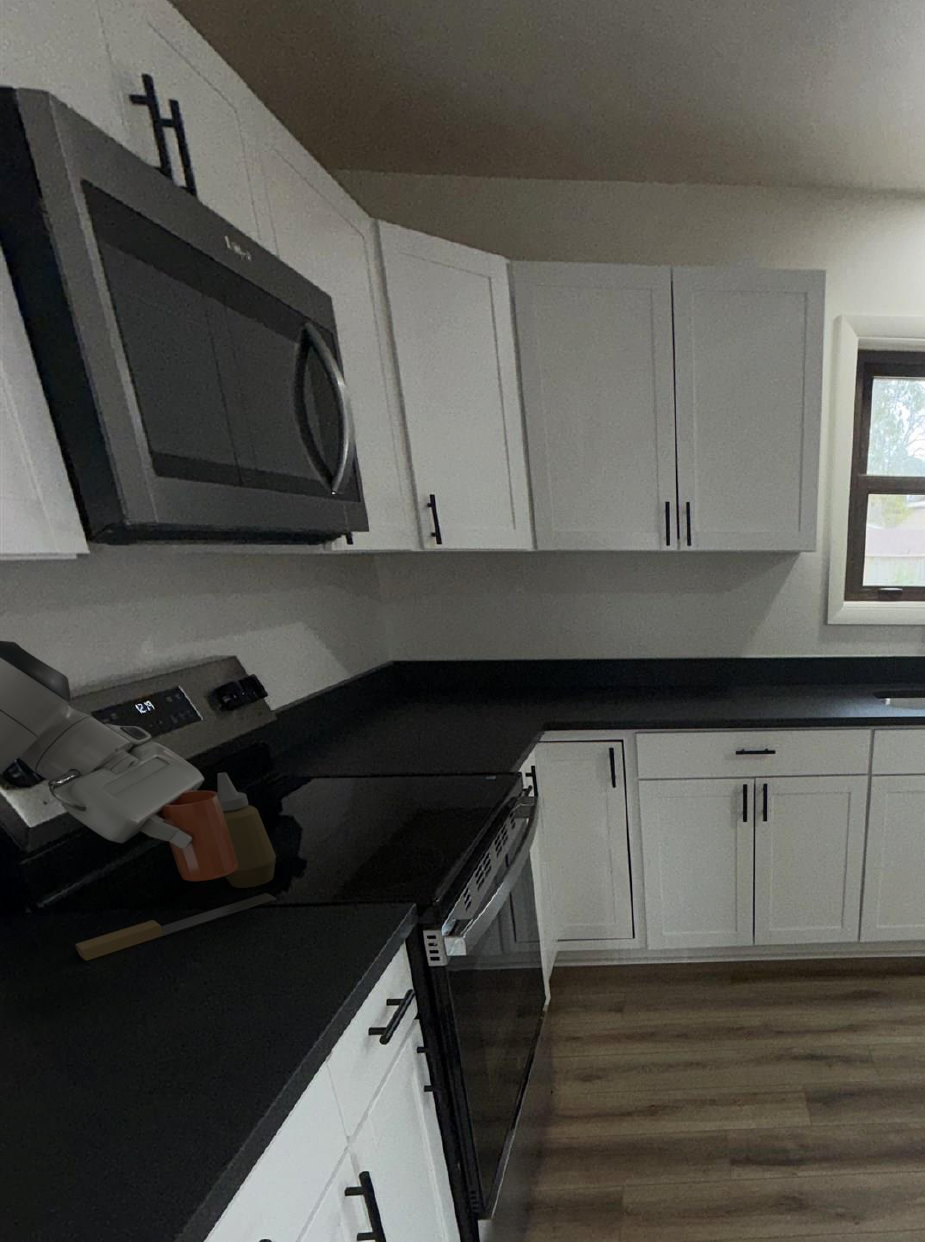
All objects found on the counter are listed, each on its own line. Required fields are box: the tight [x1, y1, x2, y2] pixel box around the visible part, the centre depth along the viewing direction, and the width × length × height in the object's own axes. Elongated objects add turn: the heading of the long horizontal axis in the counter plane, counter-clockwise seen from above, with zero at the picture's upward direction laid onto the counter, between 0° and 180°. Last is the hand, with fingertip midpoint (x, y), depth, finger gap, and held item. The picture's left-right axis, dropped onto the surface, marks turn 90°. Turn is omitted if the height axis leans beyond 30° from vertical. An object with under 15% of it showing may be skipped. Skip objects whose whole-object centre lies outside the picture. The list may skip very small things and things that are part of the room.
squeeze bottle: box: [216, 771, 277, 889], centre depth 123 cm, size 8×8×18 cm
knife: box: [75, 892, 277, 962], centre depth 113 cm, size 24×3×2 cm, turn 142°
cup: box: [159, 789, 239, 882], centre depth 101 cm, size 6×6×10 cm
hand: (203, 831), depth 101 cm, fingers closed on cup, 6 cm apart
